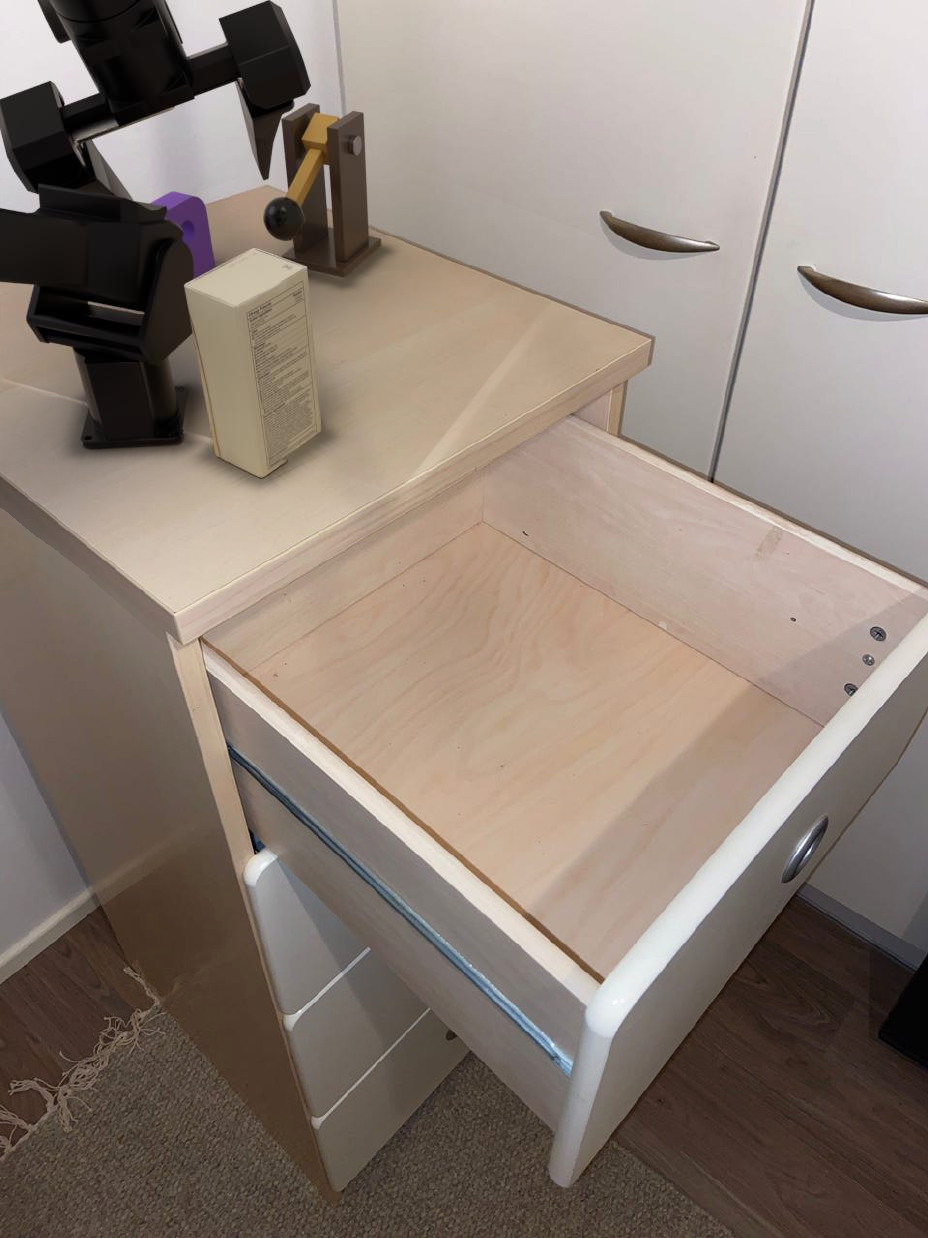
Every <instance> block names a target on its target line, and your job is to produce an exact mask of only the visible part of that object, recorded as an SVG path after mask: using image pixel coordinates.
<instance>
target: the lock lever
mask: <svg viewBox="0 0 928 1238" xmlns="http://www.w3.org/2000/svg"><path fill="white" fill-rule="evenodd" d="M339 119H341V118H340V117H339V116H337V115H332V114H325V113H321V112H320V113H315V114H314V116H313V118H312V120H311V121H310V123H309V125H308V127H307V129H306V131H305V133H304V135H303V137H302V142H303V145H304V147H305V150H306V152H307V155H306V156H305V158H304V160H303V162H302V164H301V166H300V168H299V170H298V172H297V174H296V176H295V178H294V180H293V182H292V184H291V186H290V188H289V190H288V189H287V192H286V193H285V196H278V197H274V198H273V199H271V200H269V202H268V203H267V204H266V206H265V208H264V211H263V217H262V219H263V224H264V228H265V229H266V231H267V232H268V234H269V235H270V236H271V237H273V238H274V239H276V240H279V241H281V242H289V241H293V239H295V238H296V237H298V236H299V235H300V233H301V232H302V230H303V228H304V224H305V217H304V213H303V210H302V208H301V206H302V204H303V202H304V200H305V198H306V196H307V194H308V192H309V190H310V188H311V186H312V184H313V182H314V180H315V178H316V176H317V174H318V172H319V170H320V168H321V166H322V164H324V166H329V157H328V142H327V127H328V126H330V125H331V124H333V123H334V122H336V121H338V120H339Z"/></svg>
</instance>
